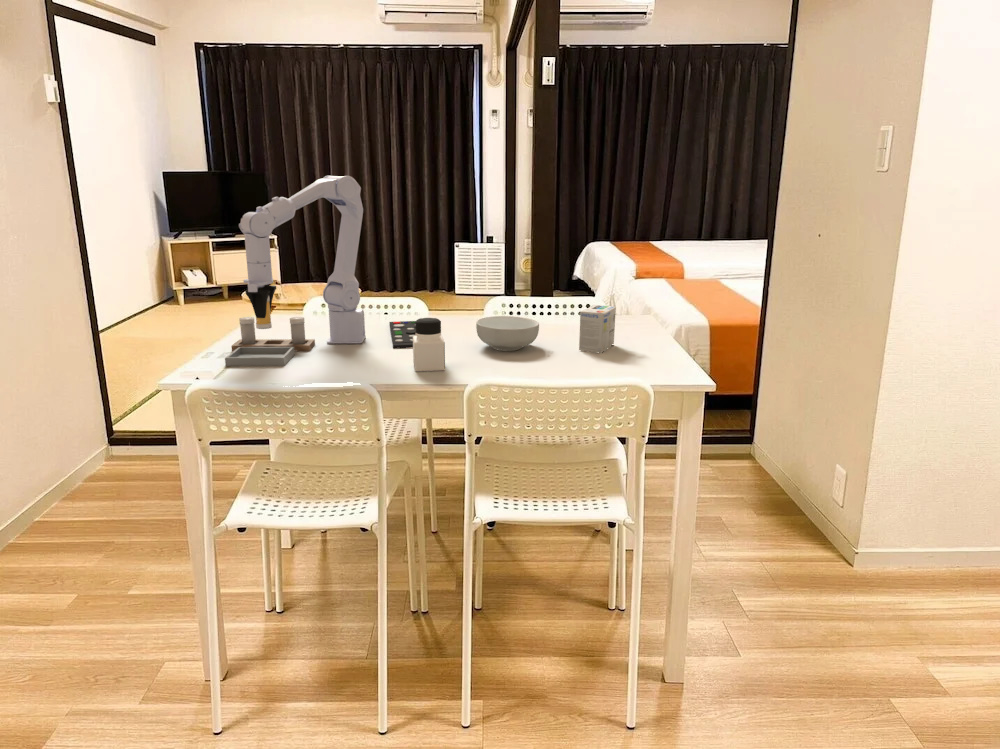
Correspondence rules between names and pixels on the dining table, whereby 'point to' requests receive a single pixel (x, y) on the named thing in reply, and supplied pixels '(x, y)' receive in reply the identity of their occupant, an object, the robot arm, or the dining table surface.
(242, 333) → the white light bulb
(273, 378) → the dining table surface
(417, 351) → the medicine bottle
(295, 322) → the cylinder
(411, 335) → the remote control
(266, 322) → the amber fuse
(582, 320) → the light bulb box
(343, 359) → the dining table surface
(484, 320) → the cereal bowl
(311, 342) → the brown wooden rack
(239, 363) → the tray
